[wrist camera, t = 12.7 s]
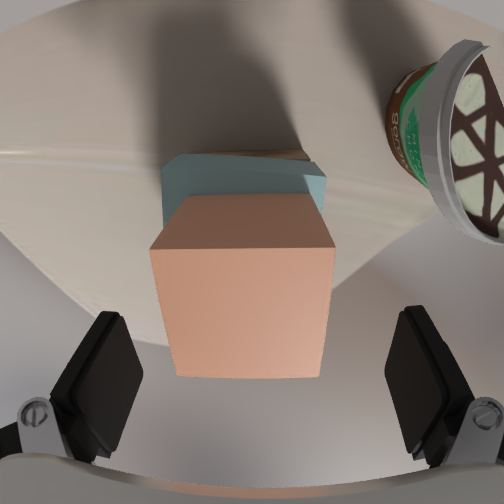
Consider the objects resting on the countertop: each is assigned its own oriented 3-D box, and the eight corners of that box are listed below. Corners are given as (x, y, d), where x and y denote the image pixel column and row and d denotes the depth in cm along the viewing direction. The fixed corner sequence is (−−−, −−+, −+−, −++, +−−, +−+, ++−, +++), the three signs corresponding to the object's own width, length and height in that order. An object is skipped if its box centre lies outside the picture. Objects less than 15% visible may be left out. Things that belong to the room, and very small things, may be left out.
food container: (338, 85, 20) (393, 76, 11) (405, 52, 18) (486, 35, 9) (408, 225, 24) (471, 291, 15) (464, 191, 22) (540, 240, 13)
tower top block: (313, 161, 19) (326, 176, 15) (298, 278, 22) (304, 313, 19) (180, 153, 19) (161, 166, 15) (182, 269, 22) (168, 303, 19)
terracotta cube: (310, 193, 15) (336, 247, 10) (304, 296, 18) (318, 376, 13) (187, 195, 16) (148, 249, 10) (199, 297, 18) (177, 375, 13)
